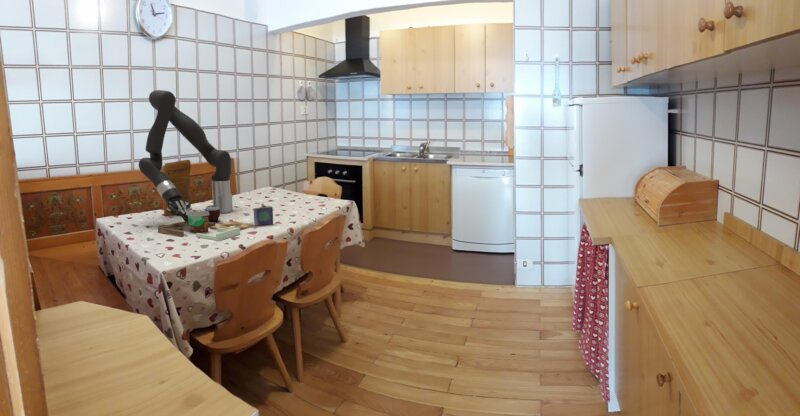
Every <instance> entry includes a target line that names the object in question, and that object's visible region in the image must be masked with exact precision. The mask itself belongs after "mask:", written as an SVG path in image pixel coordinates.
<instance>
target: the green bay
mask: <svg viewBox="0 0 800 416" xmlns="http://www.w3.org/2000/svg"><path fill="white" fill-rule="evenodd" d="M216 232H217V233H215V235H211V234H205V233H195V237H197V238H199V239H200V238H201V239H204V240H211V241H216V242H219V241H223V240H226V239H229V238H232V237H235V236H236V237H237V236H239V235H241V230H240V228H235V229H231V230H230V229H225V228H219V227H218V228H217V230H216Z"/></svg>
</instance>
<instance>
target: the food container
mask: <svg viewBox="0 0 800 416" xmlns="http://www.w3.org/2000/svg"><path fill="white" fill-rule="evenodd" d="M186 215H188V221H189V232H190V233H192V234H193V233H194V234H196V233H200V234H204V233H208V232H209V227H208V215H209V212H208V211H205V210H201V209H196V210H195V209H193V207H190V208H189V209H187V211H186Z"/></svg>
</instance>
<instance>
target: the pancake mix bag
mask: <svg viewBox="0 0 800 416" xmlns="http://www.w3.org/2000/svg"><path fill="white" fill-rule="evenodd" d="M191 164H192V163H191V160H190V159H183V160H177V161H174V162H173V161H171V162H165V163H164V165H162V171H161V172H163V173H165V174H166V175H167V177H168V178H169V180H170V181H171V182H172V183H173V184H174V186H175V187H176V189H177V190H178V191H179V193H180V194H181V197H182V199H183V200H184V201H185V202H187V203H188V202H190V201H189V197H190V182H191V170H192V169H191V167H192V165H191ZM162 207H163V216H164V217H172V216H174V215H173V214H172V213H170V212H168V211H166V209H167V208H168V204H166V203H165V201H164V200H163V199H162ZM175 213H176V212H175Z"/></svg>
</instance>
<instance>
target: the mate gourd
mask: <svg viewBox="0 0 800 416" xmlns="http://www.w3.org/2000/svg"><path fill="white" fill-rule="evenodd" d="M222 193H223V192H222ZM222 193H221V194H222ZM221 194H220V195H221ZM220 195H219V196H218V199H219V197H220ZM218 199H217V202H218ZM217 202H216V205H213V204H211V205H207V206H206V207H205V210H204V211H208V212H209V215H208V222H211V223H215V224H216V223H217V224H220V223H219V218H220V216H221V213H220V208H219V207H218V206H217Z"/></svg>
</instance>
